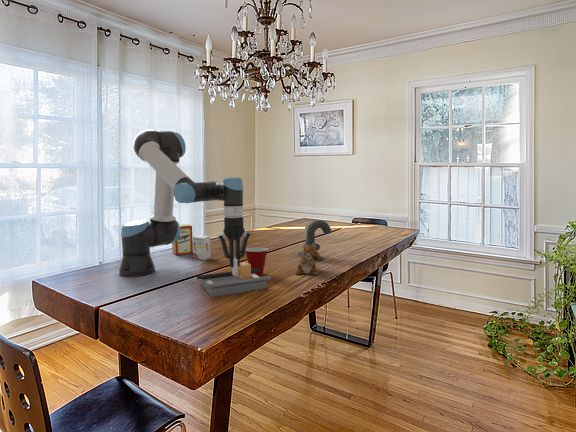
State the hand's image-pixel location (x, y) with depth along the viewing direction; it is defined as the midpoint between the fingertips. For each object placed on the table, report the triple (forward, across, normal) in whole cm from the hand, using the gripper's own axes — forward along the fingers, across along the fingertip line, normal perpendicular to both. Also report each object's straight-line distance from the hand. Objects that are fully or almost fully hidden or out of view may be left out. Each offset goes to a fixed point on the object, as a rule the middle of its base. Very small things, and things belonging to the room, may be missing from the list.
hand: (234, 274), depth 152 cm
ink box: (+5, -1, +54) cm, 54 cm away
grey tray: (+2, 0, 0) cm, 2 cm away
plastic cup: (+5, +14, +13) cm, 20 cm away
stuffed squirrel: (+5, +37, +6) cm, 38 cm away
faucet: (+5, +55, +30) cm, 63 cm away
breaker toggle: (+2, +4, 0) cm, 4 cm away
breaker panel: (+5, -1, 0) cm, 5 cm away
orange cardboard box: (+5, -8, +70) cm, 71 cm away
